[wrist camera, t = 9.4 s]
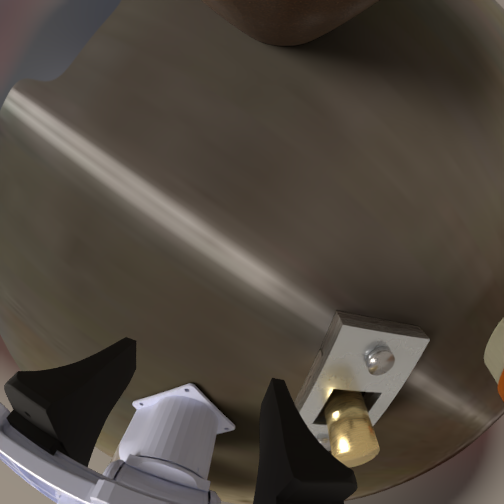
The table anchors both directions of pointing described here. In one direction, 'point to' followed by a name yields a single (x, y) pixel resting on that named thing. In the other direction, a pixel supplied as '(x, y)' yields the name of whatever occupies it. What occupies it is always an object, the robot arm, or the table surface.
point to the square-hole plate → (359, 366)
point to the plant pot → (287, 17)
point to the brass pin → (350, 428)
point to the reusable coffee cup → (496, 356)
